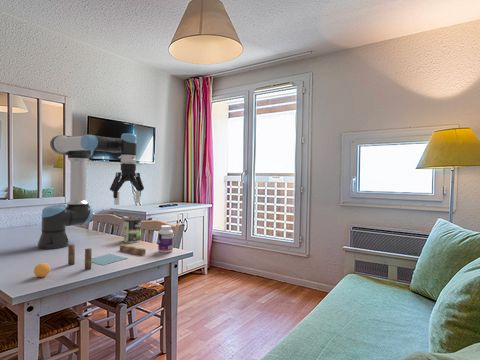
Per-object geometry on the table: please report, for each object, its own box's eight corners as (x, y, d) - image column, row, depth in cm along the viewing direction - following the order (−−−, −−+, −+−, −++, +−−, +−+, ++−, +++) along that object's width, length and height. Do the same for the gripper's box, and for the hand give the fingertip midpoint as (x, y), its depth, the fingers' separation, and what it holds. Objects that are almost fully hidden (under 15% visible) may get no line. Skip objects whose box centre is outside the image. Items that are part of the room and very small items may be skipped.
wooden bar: (119, 250, 164) (119, 245, 164) (122, 249, 166) (122, 244, 166) (142, 255, 155) (142, 249, 155) (145, 254, 157) (145, 249, 157)
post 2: (83, 269, 131) (83, 249, 130) (88, 267, 133) (89, 248, 133) (87, 270, 129) (87, 250, 129) (92, 268, 132) (92, 248, 131)
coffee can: (143, 239, 192) (144, 218, 191) (135, 243, 182) (135, 220, 181) (129, 238, 194) (130, 217, 193) (120, 242, 184) (120, 219, 183)
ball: (30, 277, 119) (31, 263, 119) (45, 273, 124) (45, 260, 124) (38, 280, 116) (38, 266, 116) (52, 276, 121) (52, 262, 121)
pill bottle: (159, 249, 168) (160, 224, 168) (173, 249, 169) (174, 224, 169) (156, 253, 160) (157, 227, 160) (171, 253, 161) (172, 227, 161)
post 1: (66, 264, 137) (67, 245, 136) (72, 263, 139) (72, 244, 139) (70, 265, 135) (70, 246, 135) (75, 264, 138) (76, 245, 138)
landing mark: (84, 260, 144) (84, 260, 144) (109, 254, 156) (109, 253, 156) (102, 265, 137) (102, 264, 137) (127, 258, 149) (127, 258, 149)
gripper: (113, 162, 141) (112, 206, 141) (151, 164, 163) (150, 202, 163) (102, 162, 144) (101, 204, 145) (141, 164, 166) (140, 201, 167)
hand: (127, 203), depth 154 cm, fingers open, 13 cm apart
